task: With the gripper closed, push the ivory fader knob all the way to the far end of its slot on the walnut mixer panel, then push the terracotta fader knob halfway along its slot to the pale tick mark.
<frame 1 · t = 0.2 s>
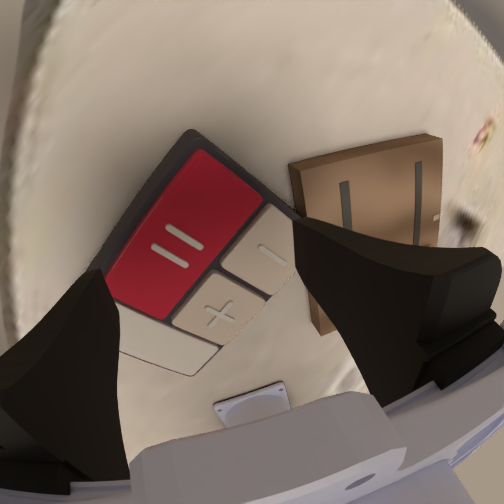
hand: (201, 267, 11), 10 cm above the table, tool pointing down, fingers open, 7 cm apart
mixer panel: (371, 231, 25), on the table
terracotta fader: (427, 273, 24), point 4 cm above the table, slide at 0.0 cm
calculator: (184, 256, 22), on the table, touching mixer panel
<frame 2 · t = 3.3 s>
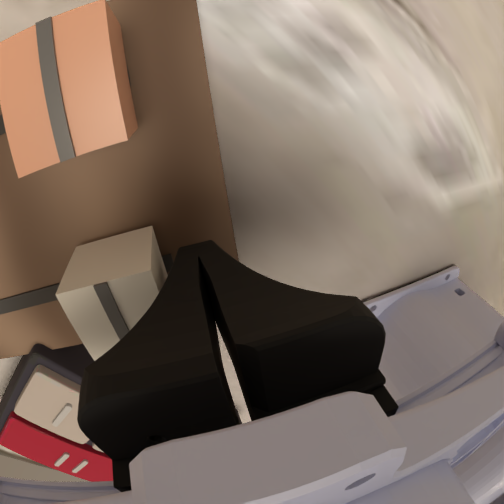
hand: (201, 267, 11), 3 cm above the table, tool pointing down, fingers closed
mixer panel: (43, 196, 11), on the table
terracotta fader: (69, 88, 6), point 4 cm above the table, slide at 0.0 cm
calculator: (111, 410, 18), on the table, touching mixer panel
ivory fader: (125, 302, 10), point 4 cm above the table, slide at 0.3 cm, touching gripper
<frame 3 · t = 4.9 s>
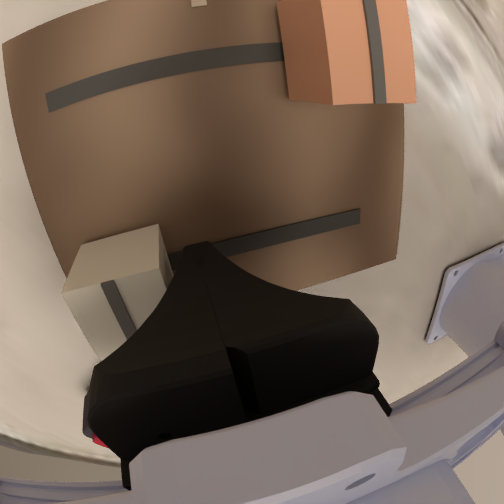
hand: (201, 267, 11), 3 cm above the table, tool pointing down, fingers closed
mixer panel: (225, 145, 12), on the table
terracotta fader: (346, 45, 8), point 4 cm above the table, slide at 0.0 cm
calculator: (219, 388, 20), on the table, touching mixer panel
ivory fader: (131, 301, 10), point 4 cm above the table, slide at 8.1 cm, touching gripper
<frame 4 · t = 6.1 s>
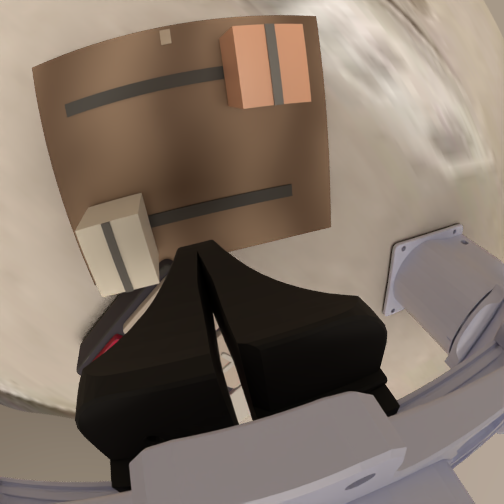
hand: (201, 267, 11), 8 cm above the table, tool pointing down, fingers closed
mixer panel: (189, 140, 17), on the table
terracotta fader: (263, 66, 12), point 4 cm above the table, slide at 0.0 cm
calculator: (193, 342, 24), on the table, touching mixer panel
ivory fader: (120, 244, 14), point 4 cm above the table, slide at 8.1 cm
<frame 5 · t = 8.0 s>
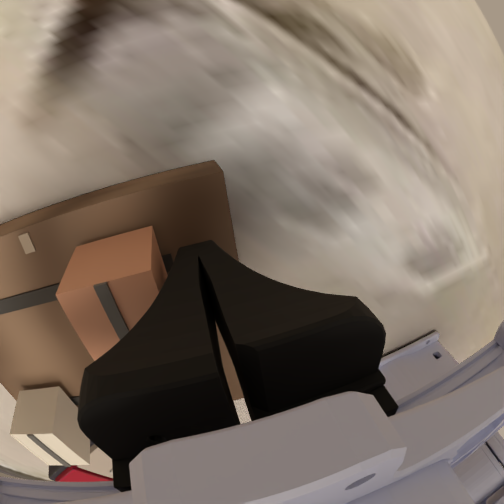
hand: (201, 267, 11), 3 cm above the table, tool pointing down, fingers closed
mixer panel: (98, 322, 15), on the table
terracotta fader: (125, 302, 10), point 4 cm above the table, slide at 0.3 cm, touching gripper
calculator: (147, 450, 22), on the table, touching mixer panel
ivory fader: (52, 429, 12), point 4 cm above the table, slide at 8.1 cm
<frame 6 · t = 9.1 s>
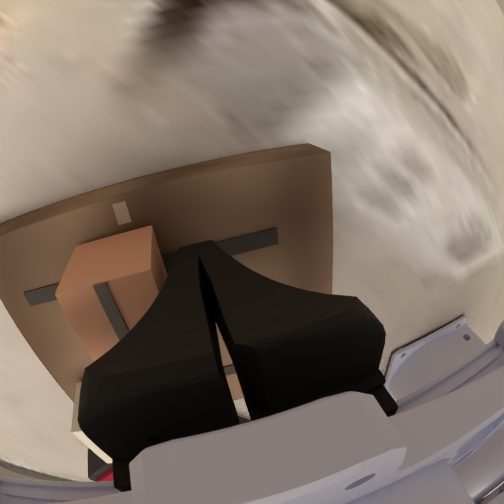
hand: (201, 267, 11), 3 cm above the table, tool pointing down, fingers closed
mixer panel: (173, 304, 15), on the table
terracotta fader: (125, 302, 10), point 4 cm above the table, slide at 4.5 cm, touching gripper
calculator: (192, 442, 23), on the table, touching mixer panel
ivory fader: (116, 423, 13), point 4 cm above the table, slide at 8.1 cm
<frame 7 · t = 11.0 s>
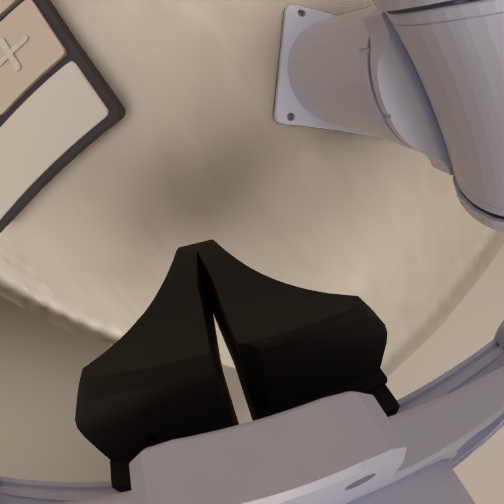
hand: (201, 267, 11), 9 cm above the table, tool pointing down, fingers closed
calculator: (2, 84, 12), on the table, touching mixer panel
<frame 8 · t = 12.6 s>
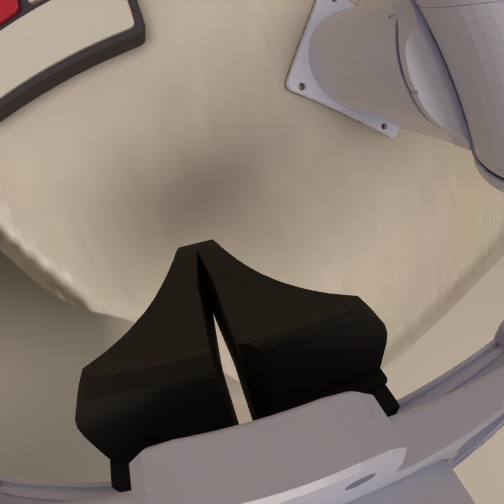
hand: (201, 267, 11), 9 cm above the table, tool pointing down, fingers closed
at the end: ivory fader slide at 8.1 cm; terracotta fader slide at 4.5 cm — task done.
